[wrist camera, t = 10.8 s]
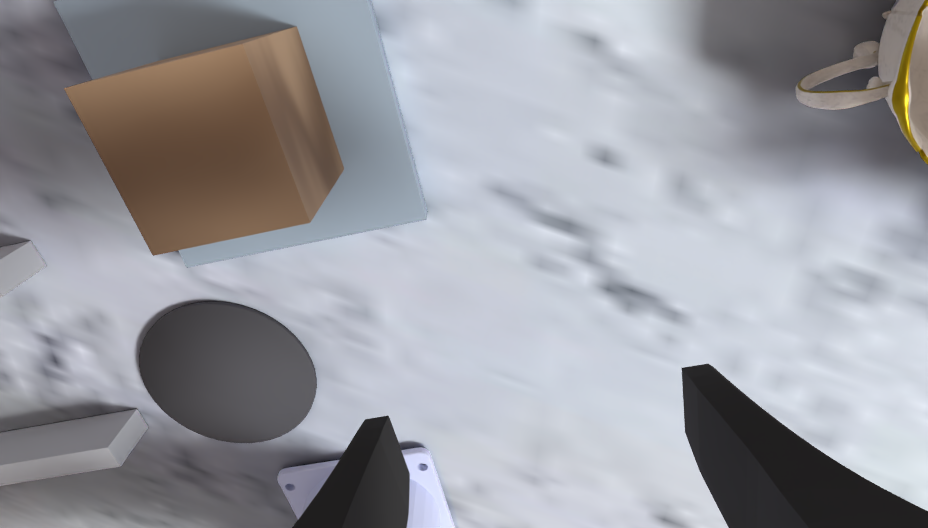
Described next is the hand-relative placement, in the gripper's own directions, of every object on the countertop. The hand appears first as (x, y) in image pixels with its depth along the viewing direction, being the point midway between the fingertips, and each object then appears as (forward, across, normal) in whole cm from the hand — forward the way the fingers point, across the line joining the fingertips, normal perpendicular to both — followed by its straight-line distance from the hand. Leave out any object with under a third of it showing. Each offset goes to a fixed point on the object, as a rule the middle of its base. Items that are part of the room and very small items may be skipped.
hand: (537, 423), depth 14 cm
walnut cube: (+10, +8, -7) cm, 14 cm away
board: (+10, +8, -7) cm, 15 cm away
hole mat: (+10, +14, +4) cm, 18 cm away
